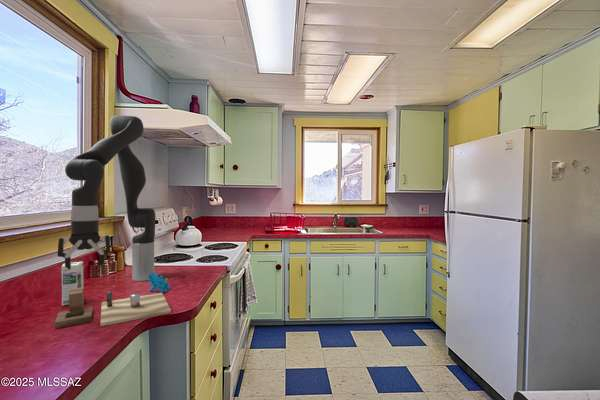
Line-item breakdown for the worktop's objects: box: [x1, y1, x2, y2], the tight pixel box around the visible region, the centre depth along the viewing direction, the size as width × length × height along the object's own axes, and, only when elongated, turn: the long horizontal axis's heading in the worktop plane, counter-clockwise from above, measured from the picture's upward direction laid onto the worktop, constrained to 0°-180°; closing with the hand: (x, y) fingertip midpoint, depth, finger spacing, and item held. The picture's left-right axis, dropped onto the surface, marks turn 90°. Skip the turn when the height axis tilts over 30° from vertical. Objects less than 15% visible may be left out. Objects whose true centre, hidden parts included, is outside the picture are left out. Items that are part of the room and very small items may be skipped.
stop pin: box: [106, 290, 113, 307], centre depth 104 cm, size 2×2×5 cm
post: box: [129, 292, 141, 308], centre depth 105 cm, size 3×3×4 cm
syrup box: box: [61, 261, 84, 306], centre depth 110 cm, size 6×6×14 cm
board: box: [100, 292, 172, 327], centre depth 105 cm, size 20×20×1 cm
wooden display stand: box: [54, 286, 94, 329], centre depth 98 cm, size 14×9×8 cm, turn 33°
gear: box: [147, 272, 170, 293], centre depth 124 cm, size 11×6×10 cm
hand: (85, 267), depth 100 cm, fingers open, 8 cm apart
